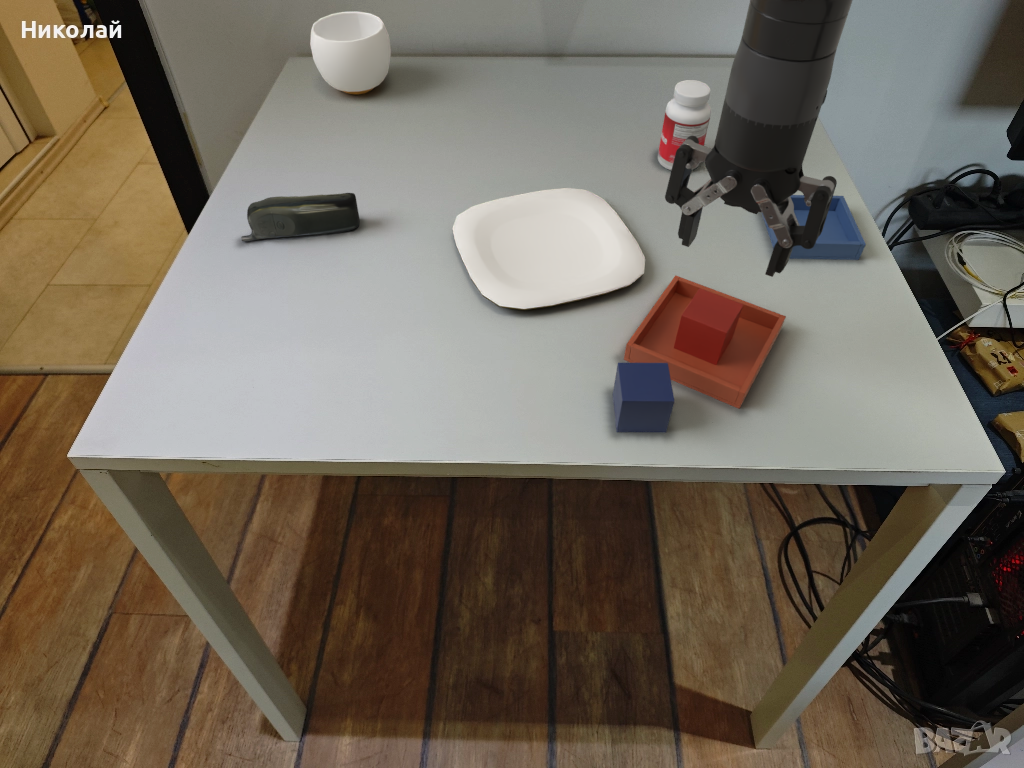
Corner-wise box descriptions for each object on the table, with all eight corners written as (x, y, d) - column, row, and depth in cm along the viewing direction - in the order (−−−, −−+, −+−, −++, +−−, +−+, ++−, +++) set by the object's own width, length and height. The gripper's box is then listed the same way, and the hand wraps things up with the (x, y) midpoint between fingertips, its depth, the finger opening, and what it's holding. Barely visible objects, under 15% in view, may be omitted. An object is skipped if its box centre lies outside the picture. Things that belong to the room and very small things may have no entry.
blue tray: (837, 211, 97) (843, 195, 95) (858, 260, 90) (866, 244, 88) (760, 210, 97) (765, 194, 95) (776, 258, 90) (782, 242, 88)
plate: (592, 189, 100) (593, 178, 99) (662, 288, 86) (664, 277, 85) (441, 219, 95) (440, 208, 94) (489, 329, 82) (489, 318, 81)
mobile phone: (354, 187, 92) (232, 199, 90) (356, 200, 90) (231, 213, 88) (359, 219, 96) (242, 231, 93) (361, 233, 94) (242, 246, 91)
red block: (732, 337, 80) (743, 304, 77) (716, 365, 78) (726, 332, 74) (690, 321, 82) (699, 288, 78) (673, 348, 79) (681, 315, 75)
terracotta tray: (779, 332, 82) (786, 316, 80) (739, 409, 74) (745, 393, 72) (671, 291, 86) (675, 275, 84) (623, 360, 79) (626, 344, 77)
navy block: (660, 394, 76) (667, 362, 72) (666, 433, 72) (674, 401, 68) (612, 394, 76) (617, 362, 72) (616, 432, 72) (622, 400, 69)
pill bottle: (661, 146, 107) (674, 74, 99) (703, 154, 106) (719, 81, 97) (653, 169, 103) (665, 95, 95) (696, 177, 102) (712, 102, 93)
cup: (309, 102, 116) (296, 41, 108) (332, 66, 124) (321, 7, 116) (384, 107, 114) (376, 46, 107) (402, 71, 122) (396, 11, 115)
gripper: (672, 95, 59) (646, 253, 71) (850, 143, 54) (788, 304, 66) (707, 58, 63) (677, 214, 75) (875, 100, 58) (813, 259, 70)
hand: (729, 256), depth 70 cm, fingers open, 8 cm apart
